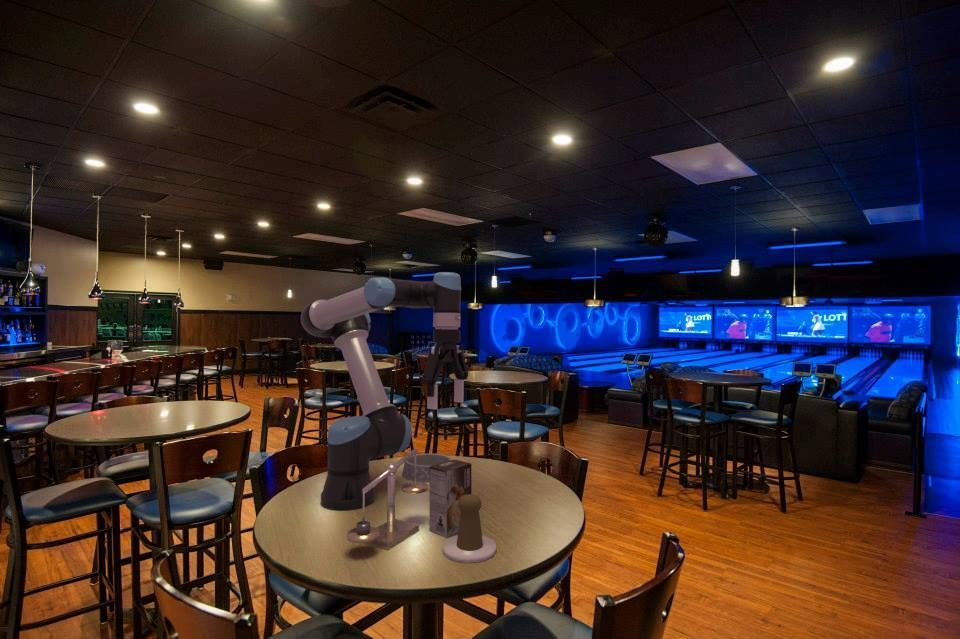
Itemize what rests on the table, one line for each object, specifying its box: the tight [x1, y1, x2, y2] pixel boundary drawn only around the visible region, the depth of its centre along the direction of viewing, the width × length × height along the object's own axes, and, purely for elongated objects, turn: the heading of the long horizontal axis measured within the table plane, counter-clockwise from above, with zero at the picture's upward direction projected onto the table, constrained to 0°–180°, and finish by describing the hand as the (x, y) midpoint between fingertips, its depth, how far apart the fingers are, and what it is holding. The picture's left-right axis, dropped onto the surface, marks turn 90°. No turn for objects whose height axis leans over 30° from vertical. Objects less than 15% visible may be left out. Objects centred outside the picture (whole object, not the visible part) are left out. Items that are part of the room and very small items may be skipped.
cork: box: [456, 493, 483, 551], centre depth 112 cm, size 6×6×11 cm
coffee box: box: [428, 459, 472, 538], centre depth 124 cm, size 9×6×16 cm
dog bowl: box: [401, 453, 453, 483], centre depth 169 cm, size 17×18×5 cm
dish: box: [442, 534, 497, 564], centre depth 112 cm, size 12×12×1 cm
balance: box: [346, 448, 430, 551], centre depth 119 cm, size 8×26×19 cm, turn 151°
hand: (446, 405), depth 137 cm, fingers open, 13 cm apart
